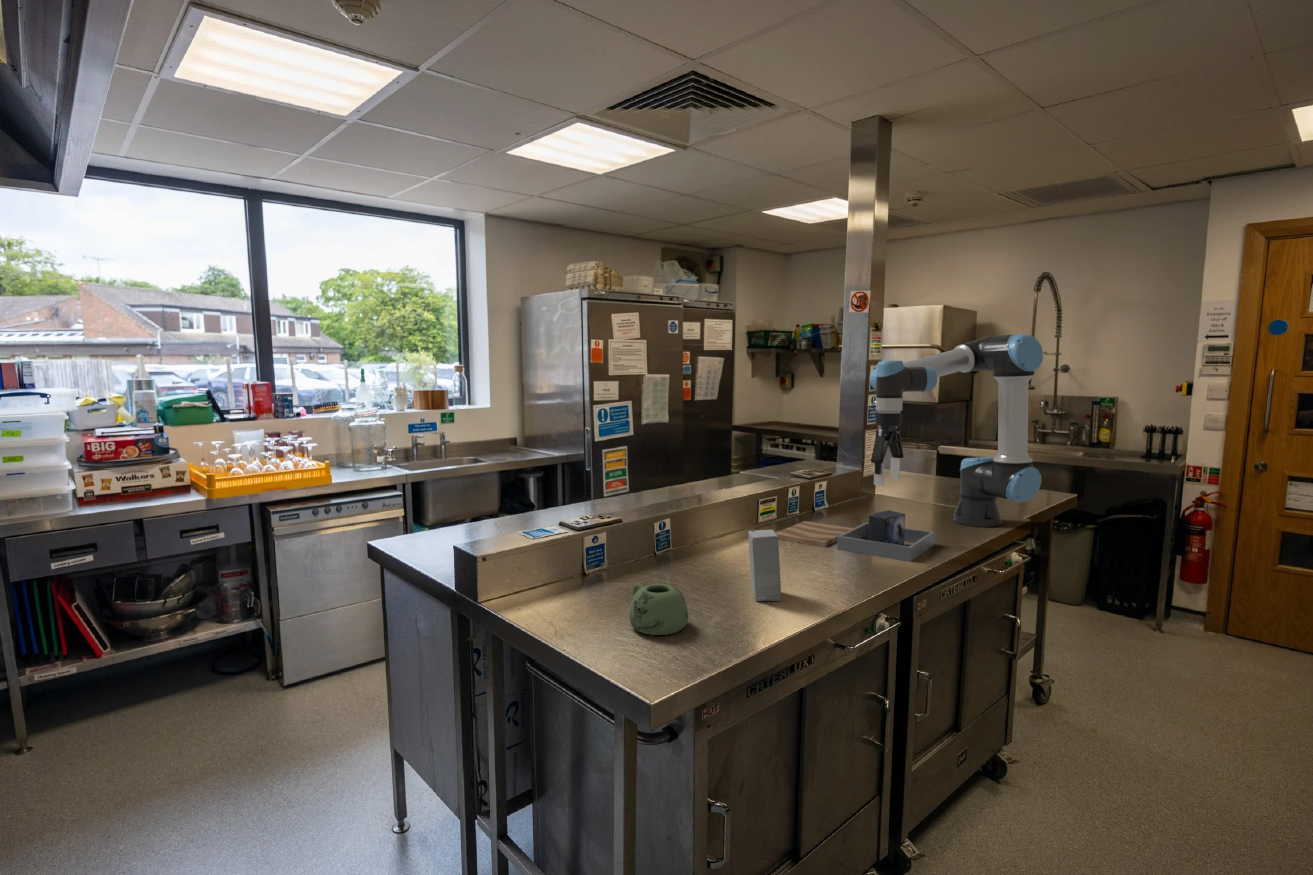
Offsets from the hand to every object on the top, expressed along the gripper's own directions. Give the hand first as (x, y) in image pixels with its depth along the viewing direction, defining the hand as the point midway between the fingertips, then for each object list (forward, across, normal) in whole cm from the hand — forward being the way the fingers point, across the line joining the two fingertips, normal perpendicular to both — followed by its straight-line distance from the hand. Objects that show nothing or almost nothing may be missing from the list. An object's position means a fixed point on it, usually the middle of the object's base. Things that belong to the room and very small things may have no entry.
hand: (887, 481), depth 198 cm
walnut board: (+20, 0, -24) cm, 31 cm away
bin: (+20, 0, 0) cm, 20 cm away
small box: (+21, 0, 0) cm, 21 cm away
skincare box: (+21, +60, -8) cm, 64 cm away
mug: (+21, +90, -18) cm, 94 cm away
